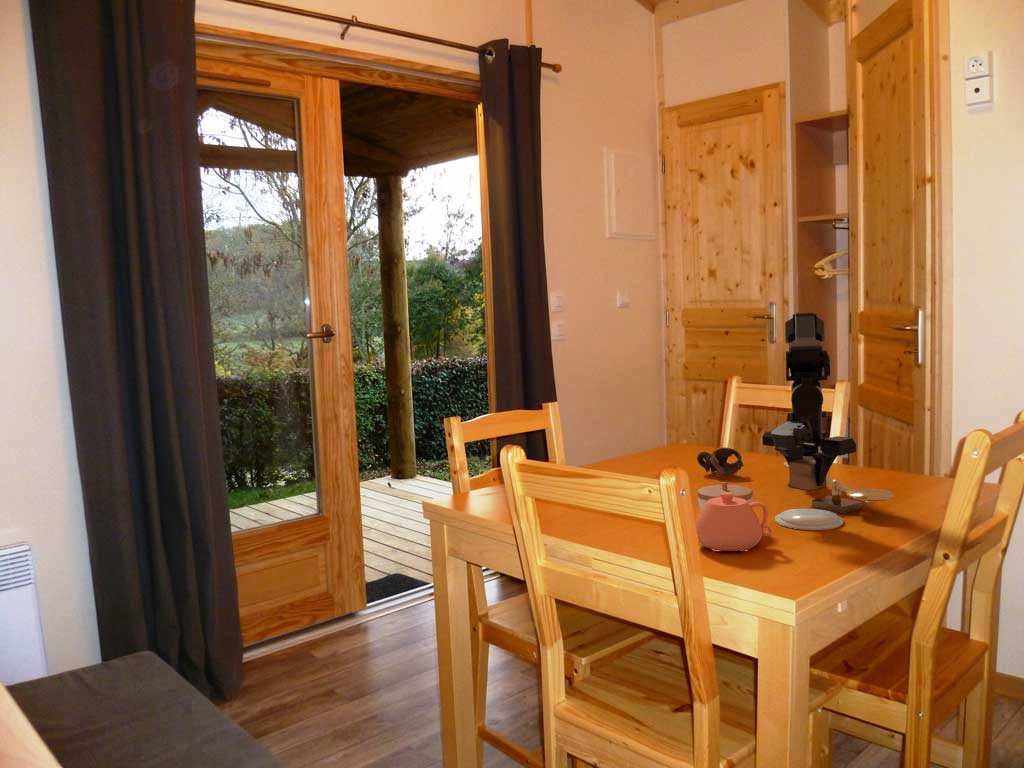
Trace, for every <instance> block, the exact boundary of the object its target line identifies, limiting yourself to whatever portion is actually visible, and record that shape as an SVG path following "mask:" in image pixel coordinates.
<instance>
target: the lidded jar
mask: <svg viewBox="0 0 1024 768" xmlns="http://www.w3.org/2000/svg"><path fill="white" fill-rule="evenodd" d="M723 492H731V493H734V496H733V497H737V498H742V499H745V500H746V501H747V502H748V503H749V504H750V503H752V502H753V496H754V495H753V494H754V493H753V490H752V489H751V488H749V487H746V486H742V485H737V484H736V485H735V484H728V482H727V481H722V482H721V484H715V485H714V484H712V485H706V486H703V487H700V488H699V489H698V490H697V499H698V500H697V501H698V503H697V504H698V509H699V512H700V511H701V510H702V508H703V506H704V505H705V503H706V502H707V501H708V500H709V499H712V498H717V497H721V496H720V493H723Z"/></svg>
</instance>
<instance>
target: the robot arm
mask: <svg viewBox="0 0 1024 768" xmlns="http://www.w3.org/2000/svg"><path fill="white" fill-rule="evenodd" d="M817 315H818V314H817V313H816V312H814V311H810V312H809V311H808V312H806V311H805V312H804V311H803V312H796V313H792V317H791V318H789V320H787V321H785V322H784V334H785V335H784V337H785V344H788V350H786V351H785V381H786V382H792V384H791V385H790V387H791V397H790V399H791V401H790V402H791V412H787V415H786V422H785V423H781V424H780V425H779V426H778V427H776V428H774V429H772V430H766V431H764V433H763V435H762V436H761V443H762V444H761V445H762V446H767V447H774V451H776V452H779V453H780V454H781V455H782V456H783V457H784V458H785V460H786V461H785V462H787V463H788V465H789V462H792V461H797V460H801V459H811V460H815V461H816V483H817V486H822V484H823V482H824V480H825V478H826V477H827V475H828V473H829V471H830V469H831V468H832V467H831V466H833V464H834V461H835V460H836V459H837V457H840V456H845V455H849V454H853V453H857V443H856V441H855V440H854V438H853V437H847V436H839V435H836V436H832V437H831V436H830V437H828V436H827V431H823V418H826V417H827V411H823V403H824V396H823V391H822V389H823V386H822V383H821V382H820V381H828V377H829V376H831V363H830V361H831V360H830V355H829V354H828V350H826V349H823V343H825V320H823V319H822V318H819V317H818V316H817ZM827 437H828V438H827ZM787 486H788V487H790V482H789V483H787Z"/></svg>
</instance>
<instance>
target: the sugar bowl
mask: <svg viewBox="0 0 1024 768" xmlns="http://www.w3.org/2000/svg"><path fill="white" fill-rule="evenodd" d="M720 496H721V497H717V498H712V499H709V500H708V501H707V502H706V503H705V505H704V506H703V508H702V510H701V511H700V510H699V512H698V513H699V514H698V515H697V518H696V519H695V520H696V521H695V524H694V526H695V525H696V529H697V534H698V539H699V541H698V542H699V543H700V544H701V545H702V546H703V547H704V548H707V549H710V550H712V549H714V550H722V552H723V551H724V552H725V551H726V552H732V551H733V552H734V551H735V552H736V551H738V550H742V551H745V550H749V549H752V548H754V547H756V546H757V544H758V543H759V542H760V541H761V539H762V537H767V536H769V535H771V534H772V532H773V531H772V527H771V526H770V525H768V524H766V523H767V520H768V516H769V515H768V514H769V511H768V507H767V506H766V505H765V504H764V503H763V502H760V501H752V503H750V504H749V503H748V502H747V501H746V500H745V499H742V498H737V497H733V496H734V493H731V492H723V493H720ZM755 507H760V508H762V511H763V512H762V517H761V521H760V519H759V516H758V515H757V513H756V512H755V510H754V508H755ZM765 529H767V530H766V531H765ZM738 552H739V551H738Z"/></svg>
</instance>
